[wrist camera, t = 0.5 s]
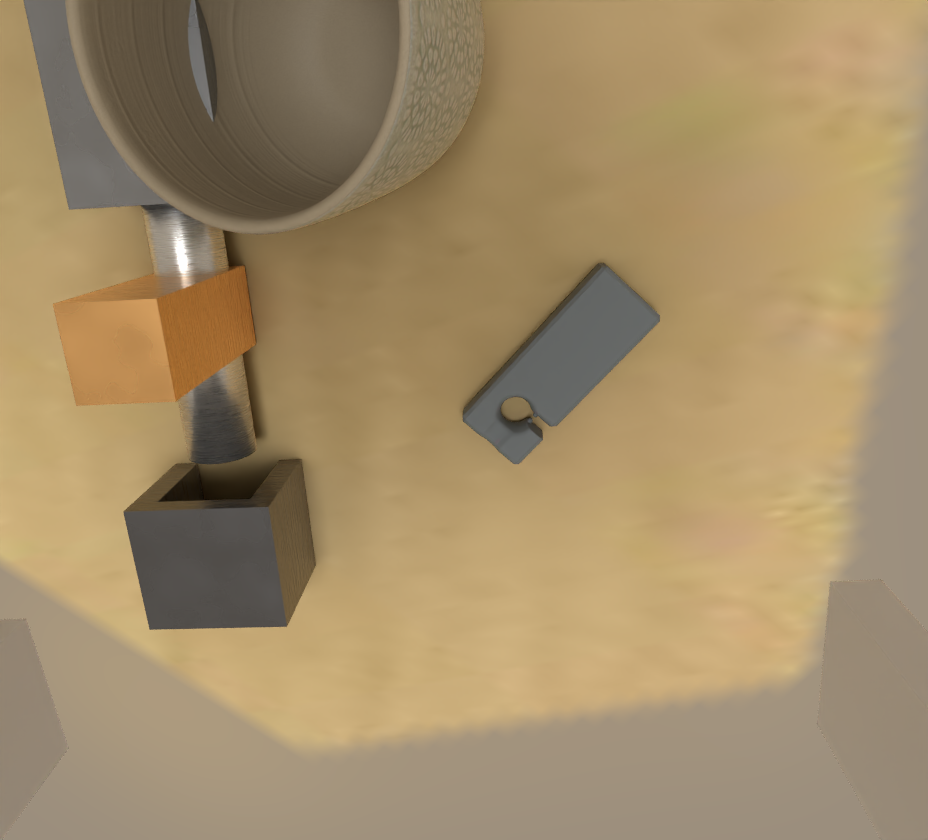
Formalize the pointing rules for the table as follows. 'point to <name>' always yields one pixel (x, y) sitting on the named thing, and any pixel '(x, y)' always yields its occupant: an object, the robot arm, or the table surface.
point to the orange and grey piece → (170, 337)
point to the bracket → (562, 361)
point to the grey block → (74, 121)
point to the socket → (221, 551)
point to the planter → (280, 100)
